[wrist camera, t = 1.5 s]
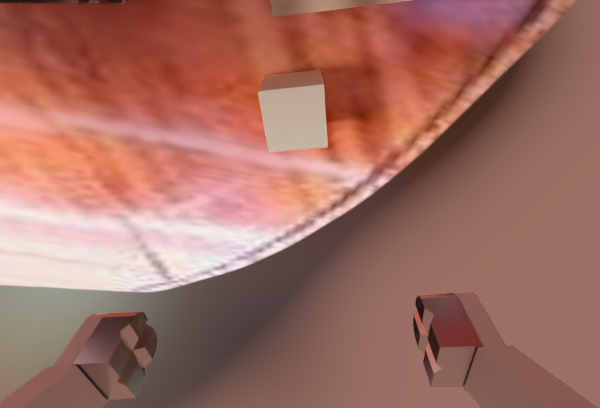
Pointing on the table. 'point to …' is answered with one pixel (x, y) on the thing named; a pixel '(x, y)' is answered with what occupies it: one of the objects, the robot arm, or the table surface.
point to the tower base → (319, 5)
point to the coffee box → (67, 1)
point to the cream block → (294, 111)
